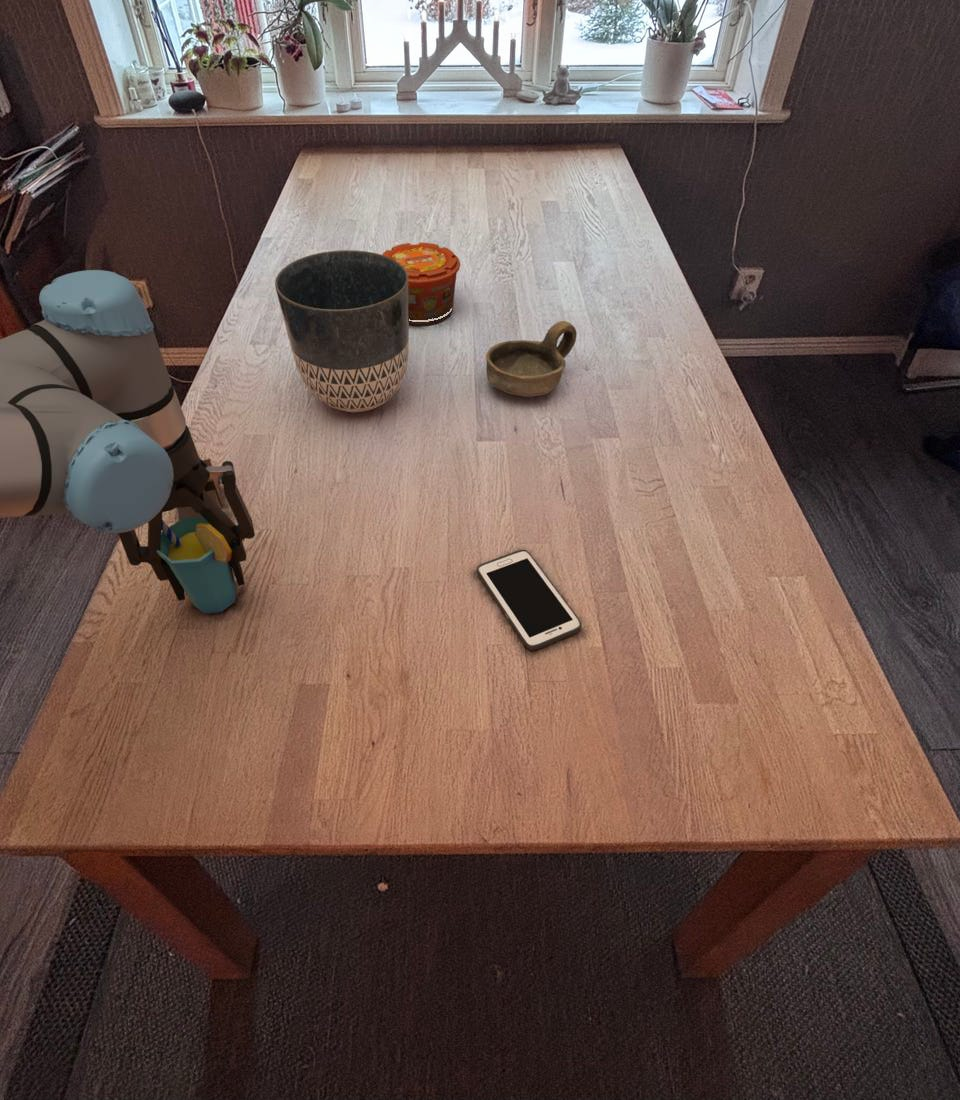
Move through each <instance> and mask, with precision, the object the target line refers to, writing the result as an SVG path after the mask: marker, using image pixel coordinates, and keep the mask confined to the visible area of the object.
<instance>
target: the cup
mask: <svg viewBox="0 0 960 1100" xmlns="http://www.w3.org/2000/svg"><path fill="white" fill-rule="evenodd" d="M156 552H157V553H158V554H159V556H160V557H161V558H162V559H164V560H165V561H166V562H167V563H168V564H169V566H170V568H171V570H172V571H173V573H174V575H175V577H176V578H177V580H178V581H179V583H180V584H181V586H182V587H183V589H184V593H185V595H186V596H187V597H188V598H189V600H190V601H191V603H192V605H193V606H194V607H195V608H197V609H198V611H200V612H201V613H203V614H204V615H205V614H214V613H215V614H217V613H222V612H223V611H224V610H226V609H228V608H229V607H230V606H232V605H233V604H234V603H235V602H236V598H237V591H238V589H237V584H236V579H235V575H234V572H233V570H232V567H231V564H230V562H229V561H230V560H231V553H232V550H231V549H230V547H229V545H228V543H227V542H226V540H225V538H224V536H223V535H222V534H220V533H219V532H218V531H217V530H216V529H215V528H214V527H212V526H211V525H210V523H209V522H208V521H207V520H206V519H205V518H204V517H194V518H183V519H181V520H180V521H179V520H178V521H177V522H175V523H173V524H172V525H170V526H169V525H168V524H167V523H166V522H165V520H163V519H162V528H161V551H159V550H157V551H156Z"/></svg>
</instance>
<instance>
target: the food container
mask: <svg viewBox="0 0 960 1100" xmlns="http://www.w3.org/2000/svg"><path fill="white" fill-rule="evenodd" d="M381 255H384V256H387V257H389V258H391V259H393V260H395V261H397V262H398V263H400V264H401V265H402V266H403V267H404V268H405V269H406V271H407V273H408V280H409V319H410V320H428V319H432V318H433V319H434V318H438V317H440V316H443V315H444V314H446V313H447V312H449V311H450V309H451V308H452V306H453V307H454V302H455V301H454V300H455V291H456V283H457V274H458V272H459V271H460V267H461V261H460V258H459V257H458V256H457V255H456V254H455V252H454V251H453V250H451V249H450V248H448V247H446V246H443V247H440V246H439V244H438V243H437V244H436V243H431V242H419V243H417V244H411V243H410V242H407V243H405V242H404V243H401V244H397V245H395V246H392V247H391V249H386V250H385V251H383V253H382V254H381ZM452 313H453V309H452V311H451V312H450V313H449V314H448V315H447V316H445V317H443V318H441V319H438V320H434V321H429V322H412V321H409V326H416V327H423V326H424V327H426V326H431V325H438V324H441V323H442V322H444V321H445V320H447V319H448V318H450V317H451V315H452Z"/></svg>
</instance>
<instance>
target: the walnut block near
mask: <svg viewBox="0 0 960 1100" xmlns="http://www.w3.org/2000/svg"><path fill="white" fill-rule="evenodd" d="M206 493H207V495H208V496H209V497H210V498H211V499H212V500H213V501H214V502H215V503H216V504H217V505H218V507H219V508H220V509H221V510H222V511H223V509H222V507H221V506H220V503H219V500H218V497H217V495H216V492H215V490H211V491H206ZM176 509H177V518H178V521H180V520H181V519H183V518H194V517H203V516H202V515H201V514H200V513H196V512H195V511H194V510H193V509H192V508H191V507H190V506H189V507H181V508H176Z"/></svg>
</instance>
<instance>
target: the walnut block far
mask: <svg viewBox="0 0 960 1100" xmlns="http://www.w3.org/2000/svg"><path fill="white" fill-rule="evenodd" d="M201 460H202V461H203V462H205V463H206V464H207V466H213V464H212V461H211V458H206V459H201ZM204 489H205V491H211V490H215V492H216V495H217V497H218V500H219V503H220V506H221V508H222V507H223V502H222V501H223V500H222V495H221V488H219V486H217V485H216V483H215V481H214V480H213V479H209V480H208V481H207V483H206V485H205V487H204Z"/></svg>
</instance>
